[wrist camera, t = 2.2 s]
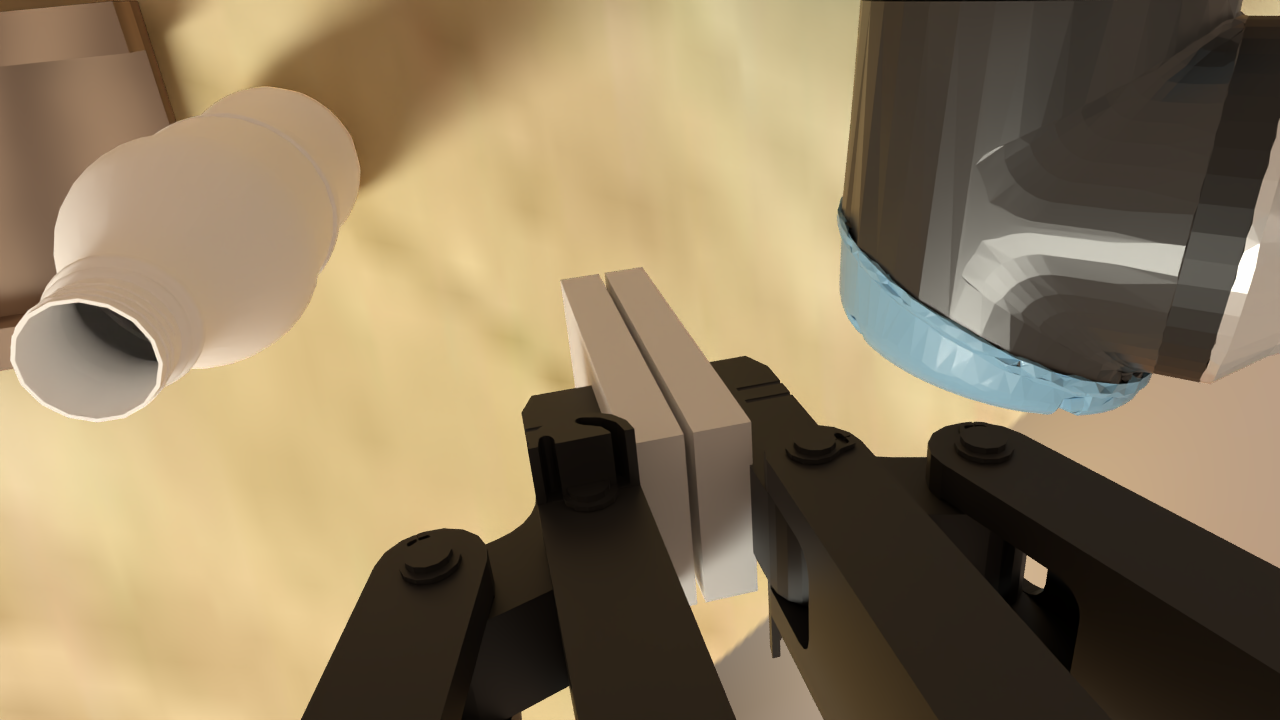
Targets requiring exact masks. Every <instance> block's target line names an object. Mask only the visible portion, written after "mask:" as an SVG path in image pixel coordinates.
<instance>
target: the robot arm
mask: <svg viewBox="0 0 1280 720" xmlns="http://www.w3.org/2000/svg"><path fill="white" fill-rule="evenodd" d="M1242 1H1243V0H861V3H860V15H859V27H858V39H857V51H856V63H855V75H854V87H853V99H852V112H851V123H850V133H849V143H848V153H847V163H846V172H845V182H844V192H843V197H842V198H841V200H840V204H839V208H838V214H837V222H838V227H839V231H840V235H841V262H840V295H841V301H842V305H843V308H844V310H845V313H846V315H847V317H848V319H849V320H850V322H851V323H852V324H853V326H854V327H855V328H856V330H857V331H858V332H860V333H861V334H862V335H863V337H864V340H865V341H866V342H867V343H868V344H869V345H870V346H871V347H872V348H873V349H874V350H875V351H877V352H878V353H879V354H880V355H881V356H883V357H884V358H885V359H887V360H888V361H890V362H891V363H893V364H894V365H896V366H897V367H899V368H901V369H902V370H904V371H906V372H908V373H909V374H911V375H913V376H915V377H917V378H919V379H921V380H923V381H925V382H927V383H930V384H932V385H934V386H937V387H939V388H941V389H944V390H946V391H949V392H952V393H954V394H957V395H960V396H963V397H965V398H968V399H972V400H975V401H979V402H982V403H986V404H989V405H993V406H997V407H1001V408H1006V409H1010V410H1016V411H1023V412H1030V413H1038V414H1052V413H1054V412H1055V411H1056V410H1057V409H1058V408H1060V409H1063V410H1065V411H1068V412H1070V413H1072V414H1075V415H1090V414H1097V413H1103V412H1107V411H1110V410H1113V409H1116V408H1118V407H1120V406H1122V405H1124V404H1126V403H1127V402H1129V401H1130V400H1132V399H1133V398H1134V396H1135V395H1136V394H1137V393H1138V391H1139V390H1141V389H1142V388H1144V387H1145V386H1146V385H1147V384H1148V383H1149V380H1150V378H1151V375H1152V374H1153V373H1155V374H1160V375H1165V376H1170V377H1175V378H1180V379H1185V380H1191V381H1196V382H1201V383H1206V384H1212V383H1214V382H1216V381H1218V380H1220V379H1222V378H1224V377H1226V376H1228V375H1230V374H1233V373H1235V372H1237V371H1239V370H1241V369H1243V368H1245V367H1247V366H1249V365H1251V364H1253V363H1255V362H1257V361H1260V360H1262V359H1264V358H1266V357H1268V356H1272V355H1276V354H1280V16H1248V15H1245V14H1244V13H1242V12H1241V11H1240V10H1241V6H1242ZM605 280H606V287H605V285H604V283H603V281H602V280H601V278H600V276H599V274H595V275H588V276H582V277H576V278H569V279H563V280H560V281H561V288H562V295H563V303H564V310H565V317H566V324H567V331H568V338H569V345H570V353H571V360H572V367H573V374H574V381H575V388H573V389H568V390H562V391H556V392H551V393H545V394H539V395H534V396H531V398H530V400H529V401H528V403H527V404H526V406H525V408H524V409H523V411H522V418H523V424H524V430H525V435H526V441H527V447H528V454H529V459H530V465H531V471H532V477H533V482H534V488H535V494H536V504H535V507H534V509H533V511H532V513H531V515H530V516H529V517H528V518H527V520H526V521H525V522H524V523H523V524H522V525H520V526H519V527H518V528H516V529H515V530H514V531H512V532H511V533H509V534H507V535H505V536H503V537H501V538H499V539H497V540H495V541H493V542H490V543H488V544H486V545H485V543H484V542H483V541H482V540H481V538H480V537H479V536H478V535H475V534H473V533H470V532H468V531H465V530H461V529H446V528H443V529H438V530H432V531H426V532H422V533H419V534H417V535H414V536H412V537H410V538H407V539H405V540H402V541H401V542H399V543H398V544H396V545H395V546H394V547H392V548H391V549H389V550H388V551H387V552H385V553H384V555H383V556H382V557H381V559H380V560H379V561H378V562H377V564H376V565H375V566H374V568H373V570H372V572H371V574H370V577H369V579H368V581H367V583H366V585H365V587H364V589H363V591H362V593H361V595H360V597H359V599H358V602H357V604H356V606H355V608H354V610H353V612H352V614H351V616H350V618H349V620H348V622H347V625H346V627H345V629H344V631H343V633H342V635H341V637H340V639H339V641H338V643H337V645H336V647H335V650H334V652H333V654H332V656H331V658H330V660H329V662H328V664H327V666H326V668H325V670H324V673H323V675H322V677H321V679H320V681H319V683H318V685H317V687H316V689H315V691H314V693H313V696H312V698H311V700H310V702H309V704H308V706H307V708H306V710H305V712H304V714H303V716H302V718H301V720H522V716H521V711H523V710H525V709H527V708H529V707H531V706H533V705H534V704H536V703H538V702H540V701H542V700H544V699H546V698H547V697H549V696H551V695H553V694H555V693H557V692H559V691H561V690H562V689H564V688H566V687H568V686H569V688H570V693H571V699H572V704H573V709H574V715H575V720H736V718H735V715H734V713H733V711H732V708H731V706H730V703H729V701H728V698H727V696H726V693H725V691H724V688H723V686H722V684H721V681H720V679H719V677H718V674H717V671H716V669H715V667H714V664H713V661H712V659H711V657H710V654H709V652H708V649H707V647H706V644H705V642H704V639H703V637H702V635H701V632H700V630H699V627H698V625H697V622H696V620H695V617H694V615H693V612H692V610H691V608H690V606H691V605H696V604H697V594H696V582H695V578H696V580H697V583H698V585H699V587H700V590H701V592H702V595H703V597H704V599H705V602H709V601H714V600H718V599H723V598H727V597H732V596H736V595H741V594H745V593H750V592H754V591H758V586H757V561H758V563H759V564H760V566H761V568H762V570H763V572H764V574H765V575H766V577H767V579H768V596H769V628H770V647H771V653H772V658H776V657H780V640H781V638H783V640H784V642H785V643H786V646H787V647H788V650H789V652H790V654H791V655H792V658H793V659H794V662H795V663H796V665H797V667H798V669H799V671H800V673H801V675H802V677H803V679H804V681H805V683H806V685H807V687H808V689H809V691H810V693H811V695H812V697H813V699H814V701H815V703H816V705H817V707H818V709H819V711H820V713H821V715H822V717H823V719H824V720H1280V568H1278V567H1276V566H1274V565H1272V564H1270V563H1268V562H1266V561H1264V560H1263V559H1260V558H1259V557H1257V556H1255V555H1253V554H1251V553H1249V552H1247V551H1245V550H1243V549H1241V548H1240V547H1237V546H1236V545H1234V544H1232V543H1230V542H1228V541H1226V540H1224V539H1222V538H1220V537H1218V536H1216V535H1215V534H1213V533H1211V532H1209V531H1207V530H1205V529H1203V528H1201V527H1199V526H1197V525H1196V524H1193V523H1192V522H1190V521H1188V520H1186V519H1184V518H1182V517H1180V516H1178V515H1176V514H1175V513H1172V512H1171V511H1169V510H1167V509H1165V508H1163V507H1161V506H1159V505H1157V504H1155V503H1153V502H1151V501H1149V500H1148V499H1146V498H1144V497H1142V496H1140V495H1138V494H1136V493H1134V492H1132V491H1130V490H1129V489H1127V488H1125V487H1122V486H1121V485H1119V484H1117V483H1115V482H1113V481H1111V480H1109V479H1107V478H1106V477H1104V476H1102V475H1100V474H1098V473H1096V472H1094V471H1092V470H1090V469H1088V468H1086V467H1085V466H1082V465H1080V464H1079V463H1077V462H1075V461H1073V460H1071V459H1069V458H1067V457H1065V456H1063V455H1062V454H1060V453H1058V452H1056V451H1054V450H1052V449H1050V448H1048V447H1046V446H1044V445H1042V444H1041V443H1039V442H1037V441H1035V440H1032V439H1031V438H1029V437H1027V436H1025V435H1023V434H1021V433H1019V432H1016V431H1014V430H1011V429H1008V428H1006V427H1003V426H998V425H992V424H988V423H985V422H974V423H972V422H965V423H959V424H954V425H950V426H945V427H943V428H941V429H940V430H938V431H936V432H935V433H933V434H932V436H931V438H930V440H929V442H928V449H927V457H876V456H875V455H874V454H873V453H872V452H871V451H870V450H869V449H868V448H867V447H866V445H865V444H864V443H863V442H862V441H861V440H859V439H858V438H857V437H855V436H854V435H852V434H851V433H849V432H847V431H844V430H841V429H838V428H835V427H829V426H820V425H818V424H817V423H816V422H815V421H814V420H813V419H812V417H811V416H810V415H809V414H808V413H807V412H806V410H805V409H804V408H803V407H802V406H801V405H800V403H799V402H798V401H797V400H796V399H795V398H794V396H793V395H790V392H789V390H788V389H787V388H786V387H785V386H784V385H783V383H780V380H779V379H778V378H777V376H776V375H775V374H774V373H773V372H772V371H771V369H770V368H769V367H768V366H766V365H764V364H762V363H760V362H758V361H756V360H753V359H751V358H749V357H747V356H742V357H737V358H731V359H725V360H720V361H714V362H709V361H708V360H707V358H706V357H705V355H704V354H703V353H702V351H701V350H700V348H699V347H698V346H697V344H696V343H695V341H694V340H693V338H692V337H691V336H690V334H689V333H688V331H687V330H686V329H685V327H684V326H683V324H682V323H681V321H680V320H679V319H678V317H677V316H676V314H675V313H674V311H673V310H672V309H671V307H670V306H669V304H668V303H667V302H666V300H665V299H664V297H663V296H662V294H661V293H660V292H659V290H658V289H657V287H656V286H655V285H654V283H653V282H652V280H651V279H650V277H649V276H648V275H647V273H646V272H645V270H644V269H643V267H640V268H633V269H627V270H621V271H614V272H608V273H605ZM1027 555H1028V556H1029V557H1031V558H1032V559H1034V560H1035V561H1037V562H1038V563H1040V564H1041V565H1043V566H1044V567H1046V568H1047V569H1048V572H1047V579H1046V585H1045V587H1044V589H1042V588H1039V587H1037V586H1035V585H1033V584H1032V583H1030V582H1029V581H1027V580H1026V579H1025V578H1024V570H1025V563H1026V556H1027ZM756 559H757V560H756Z"/></svg>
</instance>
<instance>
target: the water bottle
mask: <svg viewBox="0 0 1280 720" xmlns="http://www.w3.org/2000/svg"><path fill="white" fill-rule="evenodd" d="M360 173H361V170H360V164H359V160H358V156H357V153H356V149H355V146H354V142H353V140H352V137H351V135H350V134H349V132H348V130H347V129H346V128H345V126H344V125H343V124H342V122H341V121H340V120H339V119H338V118H337V117H336V116H335V115H334V114H333V113H332V112H331V111H330V110H329V109H328V108H327V107H325V106H324V105H322V104H321V103H320V102H318V101H317V100H315V99H313V98H311V97H309V96H307V95H305V94H303V93H300V92H297V91H293V90H288V89H282V88H276V87H269V86H263V87H254V88H249V89H245V90H241V91H237V92H235V93H232V94H230V95H228V96H226V97H224V98H222V99H220V100H219V101H217V102H215V103H214V104H213V105H211V106H210V107H209V108H207V109H206V110H205V111H204V112H203V113H202V114H201V115H198V116H194V117H189V118H186V119H183V120H180V121H177V122H175V123H173V124H170V125H169V126H167V127H165V128H163V129H161V130H160V131H158V132H157V133H155V134H154V135H152V136H147V137H141V138H138V139H135V140H132V141H129V142H127V143H124V144H121V145H119V146H117V147H116V148H114V149H112V150H110V151H109V152H107V153H105V154H104V155H102V156H101V157H99V158H98V159H97V160H96V161H95V162H93V163H92V164H91V165H90V166H88V167H87V168H86V169H85V171H84V172H83V173H82V174H81V175H80V176H79V177H78V179H77V180H76V181H75V182H74V183H73V185H72V187H71V189H70V190H69V192H68V194H67V196H66V198H65V200H64V202H63V204H62V205H61V207H60V210H59V213H58V217H57V221H56V225H55V230H54V260H55V266H56V272H57V274H56V275H55V276H54V277H53V278H52V279H51V281H50V282H49V283H48V284H47V286H46V288H45V290H44V292H43V294H42V296H41V300H40V302H39V303H38V304H37V305H35V306H34V307H32V308H30V309H29V310H28V311H27V312H26V314H25V315H24V316H23V318H22V319H21V320H20V321H19V323H18V324H17V325H16V327H15V330H14V333H13V335H12V338H11V347H10V348H11V356H10V361H11V364H12V366H13V368H14V370H15V373H16V375H17V377H18V379H19V382H20V384H21V385H22V386H23V387H24V388H25V389H26V390H27V391H28V392H29V393H30V394H31V395H32V396H33V397H34V398H35V399H36V400H37V401H38V402H39V403H40V404H41V405H43V406H45V407H47V408H49V409H51V410H53V411H55V412H57V413H60V414H62V415H64V416H66V417H68V418H73V419H80V420H86V421H92V422H102V421H109V420H115V419H122V418H126V417H127V416H129V415H131V414H133V413H134V412H136V411H138V410H140V409H142V408H143V407H145V406H147V405H148V403H150V402H151V401H152V400H153V399H154V398H155V397H156V396H157V395H158V394H159V393H160V391H161V390H162V389H163V388H164V387H166V386H168V385H170V384H172V383H174V382H176V381H177V380H179V379H180V378H182V377H183V376H184V375H185V374H187V373H188V372H189V371H190V369H206V368H212V367H217V366H223V365H228V364H232V363H235V362H238V361H241V360H244V359H246V358H249V357H252V356H254V355H255V354H257V353H259V352H261V351H262V350H264V349H266V348H267V347H269V346H271V345H272V344H274V343H275V342H277V341H278V340H279V339H280V338H281V337H282V336H284V335H285V334H286V333H287V332H288V331H289V330H290V329H291V328H292V327H293V326H294V324H295V323H296V322H297V321H298V320H299V318H300V317H301V315H302V314H303V312H304V311H305V309H306V307H307V306H308V304H309V303H310V300H311V298H312V295H313V292H314V290H315V287H316V283H317V276H318V275H319V274H320V273H321V271H322V270H323V269H324V267H325V266H326V264H327V262H328V261H329V259H330V256H331V254H332V252H333V250H334V247H335V244H336V241H337V236H338V232H339V228H340V227H341V226H342V225H343V223H344V222H345V221H346V219H347V218H348V216H349V214H350V213H351V210H352V208H353V206H354V204H355V201H356V198H357V194H358V190H359V186H360Z"/></svg>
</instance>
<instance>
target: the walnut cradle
mask: <svg viewBox="0 0 1280 720" xmlns="http://www.w3.org/2000/svg"><path fill="white" fill-rule="evenodd" d="M175 122H176V120H175V117H174V114H173V111H172V107H171V104H170V101H169V98H168V95H167V92H166V89H165V86H164V83H163V79H162V76H161V73H160V70H159V67H158V64H157V61H156V58H155V55H154V51H153V48H152V45H151V42H150V39H149V36H148V33H147V30H146V27H145V24H144V20H143V17H142V14H141V11H140V8H139V5H138V2H137V1H109V2H99V3H88V4H78V5H68V6H57V7H47V8H37V9H26V10H16V11H5V12H0V371H2V370H9V369H14V368H13V366H12V364H11V361H10V356H11V348H10V347H11V338H12V335H13V333H14V330H15V327H16V325H17V324H18V323H19V321H20V320H21V319H22V318H23V316H24V315H25V314H26V312H27V311H28V310H29V309H30V308H32V307H34V306H35V305H37V304H38V303H39V302H40V300H41V296H42V294H43V292H44V290H45V288H46V286H47V284H48V283H49V282H50V281H51V279H52V278H53V277H54V276H55V275H56V274H57V272H56V266H55V260H54V230H55V225H56V221H57V217H58V213H59V210H60V207H61V205H62V204H63V202H64V200H65V198H66V196H67V194H68V192H69V190H70V189H71V187H72V185H73V183H74V182H75V181H76V180H77V179H78V177H79V176H80V175H81V174H82V173H83V172H84V171H85V169H86V168H87V167H88V166H90V165H91V164H92V163H93V162H95V161H96V160H97V159H98V158H99V157H101V156H102V155H104V154H105V153H107V152H109V151H110V150H112V149H114V148H116V147H117V146H119V145H121V144H124V143H127V142H129V141H132V140H135V139H138V138H141V137H147V136H152V135H154V134H155V133H157V132H158V131H160V130H161V129H163V128H165V127H167V126H169V125H170V124H173V123H175Z"/></svg>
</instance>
